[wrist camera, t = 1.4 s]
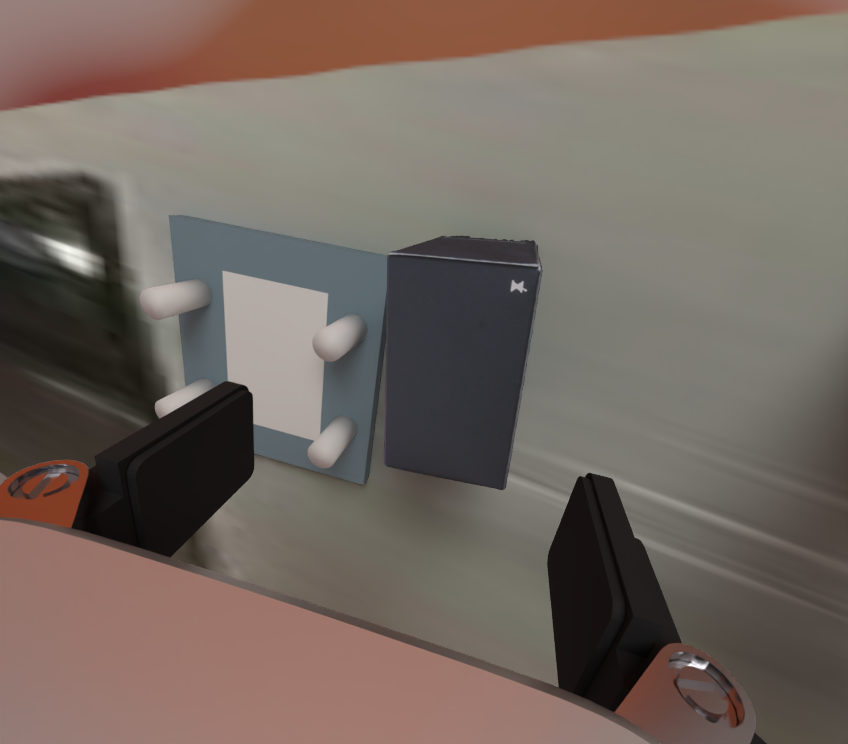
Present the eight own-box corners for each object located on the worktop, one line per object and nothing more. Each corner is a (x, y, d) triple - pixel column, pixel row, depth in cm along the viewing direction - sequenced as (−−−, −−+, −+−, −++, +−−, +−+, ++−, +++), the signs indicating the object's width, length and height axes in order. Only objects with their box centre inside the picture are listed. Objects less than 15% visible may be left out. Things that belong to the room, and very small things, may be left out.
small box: (433, 232, 25) (378, 245, 15) (539, 240, 24) (552, 258, 14) (424, 385, 29) (376, 470, 19) (514, 398, 28) (511, 495, 18)
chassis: (395, 257, 26) (367, 267, 21) (368, 476, 33) (343, 519, 28) (182, 215, 28) (114, 215, 23) (200, 428, 35) (151, 461, 31)
